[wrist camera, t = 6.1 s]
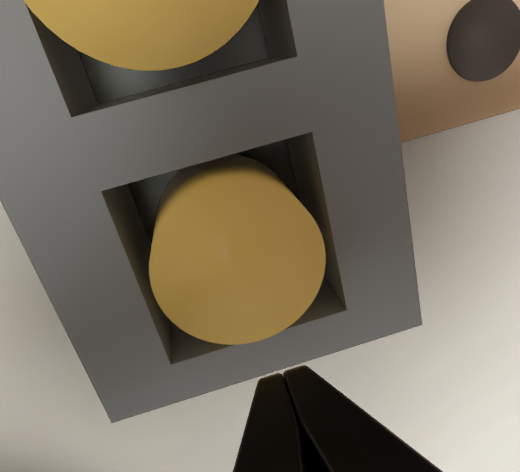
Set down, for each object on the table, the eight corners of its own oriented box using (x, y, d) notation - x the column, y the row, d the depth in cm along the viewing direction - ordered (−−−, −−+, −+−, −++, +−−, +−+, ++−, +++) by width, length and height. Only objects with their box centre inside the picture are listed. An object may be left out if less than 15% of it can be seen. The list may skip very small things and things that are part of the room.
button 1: (305, 262, 17) (339, 316, 14) (180, 300, 17) (181, 365, 13) (276, 137, 15) (307, 160, 12) (135, 176, 15) (121, 212, 11)
